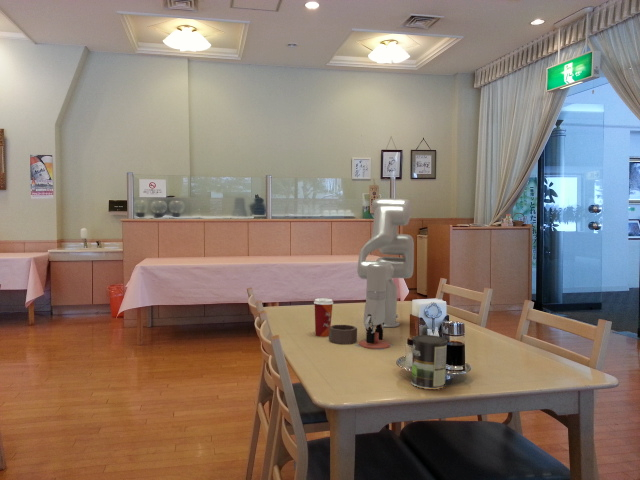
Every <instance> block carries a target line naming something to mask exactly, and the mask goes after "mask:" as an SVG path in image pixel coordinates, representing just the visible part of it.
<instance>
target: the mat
mask: <svg viewBox="0 0 640 480" xmlns="http://www.w3.org/2000/svg"><path fill="white" fill-rule="evenodd" d="M393 345H394V343H390V347H391V346H393ZM354 346H355V347H361V348H363V347H362V346H360V345H359V343H358V344H355V345H354ZM384 349H386V348H384ZM384 349H376V351H383V350H384Z"/></svg>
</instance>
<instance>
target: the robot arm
mask: <svg viewBox="0 0 640 480" xmlns="http://www.w3.org/2000/svg"><path fill="white" fill-rule="evenodd" d="M412 205H413V204H412V202H411V201H410V200H409V199H407V198H390V197H389V198H385V197H384V198H383V197H381V198H375V199H374V200H372V202H371V210H372V213H373V224H372V234H371V238H369V240H368V241H366V243H365V244H364V245H363V246H362V247H361V250H360V251H359V254H358V261H357V276H358V277H359V278H360V279H362V280H366V288H365V289H366V291H365V293H366V294H365V296H366V297H365V299H366V300H365V304H364V310H363V311H364V313H363V325H364V328H365V333H366V335H365V337H366V339H365V340H366V342H367V343H371V344H374V338H375V333H374V332H378V333H379V340H383V341H384V338H383V337H384V328H397V327H399V326H400V322H399V321H397V318H399V314H397V307H398V306H397V302H398V301H397V299H398V287H397V284H396V283H395V281H394V280H393V279H410V278H412V276H413V275H414V265H415V263H414V261H415V256H414V255H415V254H414V253H415V243H414V238H413V237H412V235H410V234H405V233H404V234H403V233H398V226H403V227H405V226H407V225H408V224H409V223H410V220H411V215H412V211H413V206H412ZM376 250H379V251H378V252H380V253H381V254H383V255H391V256H380V257H378V258H377V259H376V260H367V257H368V255H370V254H371V253H372V252H374V251H376ZM392 255H393V256H392ZM397 256H398V257H397ZM399 256H402V257H399Z"/></svg>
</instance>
